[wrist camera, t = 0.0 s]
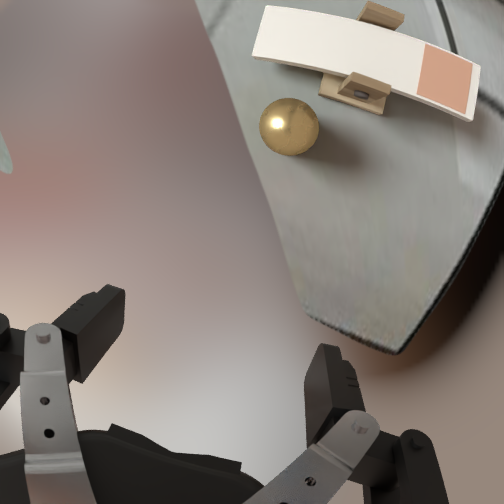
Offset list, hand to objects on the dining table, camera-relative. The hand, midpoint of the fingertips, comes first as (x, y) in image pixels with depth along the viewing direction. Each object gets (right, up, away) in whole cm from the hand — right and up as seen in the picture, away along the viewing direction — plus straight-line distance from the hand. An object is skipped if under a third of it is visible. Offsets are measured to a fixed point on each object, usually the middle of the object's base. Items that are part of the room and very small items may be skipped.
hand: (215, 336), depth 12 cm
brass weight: (+6, +18, +24) cm, 31 cm away
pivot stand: (+15, +26, +21) cm, 36 cm away
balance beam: (+14, +24, +15) cm, 32 cm away
